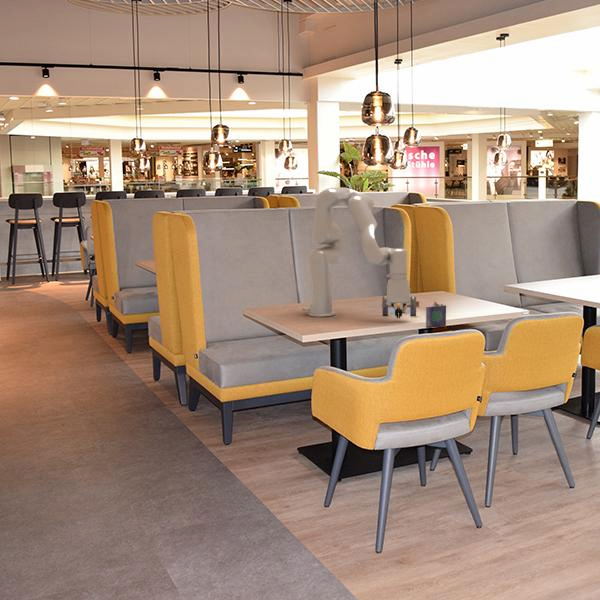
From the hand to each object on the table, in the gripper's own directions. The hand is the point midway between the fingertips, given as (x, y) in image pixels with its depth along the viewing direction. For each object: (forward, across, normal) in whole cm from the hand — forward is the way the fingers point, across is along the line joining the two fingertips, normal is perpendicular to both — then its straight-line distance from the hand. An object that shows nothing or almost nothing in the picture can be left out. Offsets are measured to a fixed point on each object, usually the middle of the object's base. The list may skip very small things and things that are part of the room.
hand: (398, 317), depth 350 cm
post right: (+2, +6, +13) cm, 15 cm away
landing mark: (+2, 0, +27) cm, 27 cm away
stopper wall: (+2, 0, +41) cm, 41 cm away
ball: (-1, 0, +22) cm, 23 cm away
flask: (+2, +16, -12) cm, 20 cm away
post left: (+2, -6, +13) cm, 15 cm away
